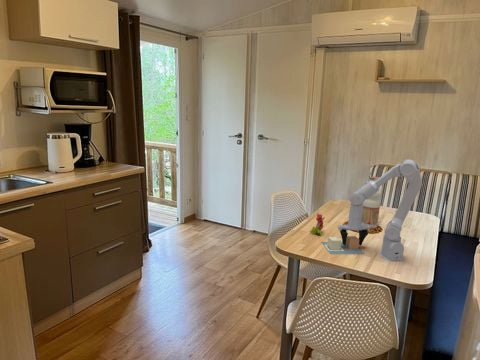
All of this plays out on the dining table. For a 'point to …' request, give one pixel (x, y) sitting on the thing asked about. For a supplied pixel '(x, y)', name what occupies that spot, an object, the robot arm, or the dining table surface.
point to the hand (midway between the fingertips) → (351, 244)
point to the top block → (352, 242)
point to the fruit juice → (371, 208)
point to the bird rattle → (318, 225)
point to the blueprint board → (342, 249)
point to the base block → (334, 243)
